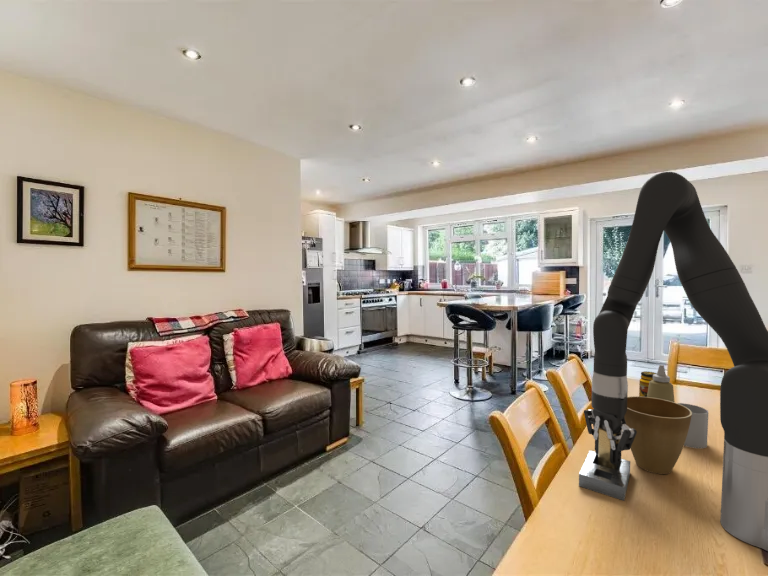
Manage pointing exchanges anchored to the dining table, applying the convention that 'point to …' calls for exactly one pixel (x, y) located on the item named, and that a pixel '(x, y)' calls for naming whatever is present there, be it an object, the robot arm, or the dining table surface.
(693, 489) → the dining table surface
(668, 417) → the plant pot
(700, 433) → the cup
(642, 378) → the condiment
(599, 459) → the spice shaker
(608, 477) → the steel socket block
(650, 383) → the squeeze bottle
